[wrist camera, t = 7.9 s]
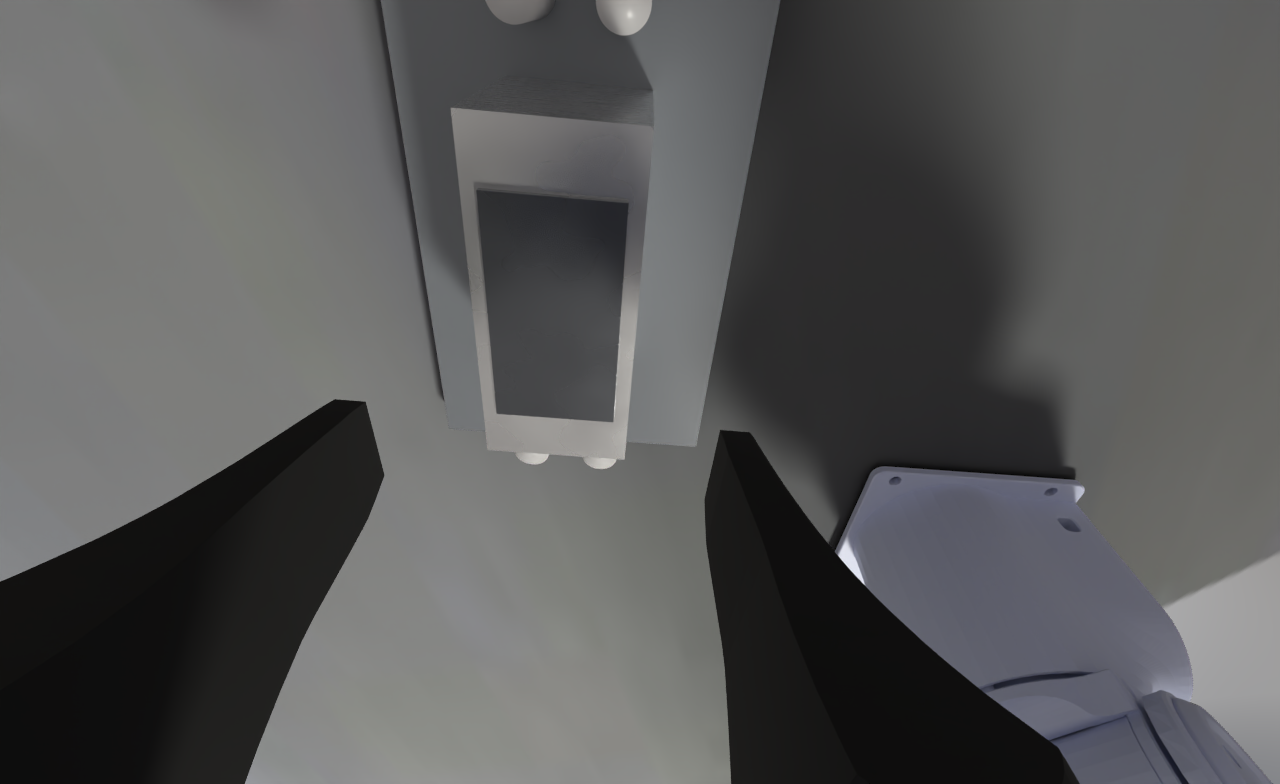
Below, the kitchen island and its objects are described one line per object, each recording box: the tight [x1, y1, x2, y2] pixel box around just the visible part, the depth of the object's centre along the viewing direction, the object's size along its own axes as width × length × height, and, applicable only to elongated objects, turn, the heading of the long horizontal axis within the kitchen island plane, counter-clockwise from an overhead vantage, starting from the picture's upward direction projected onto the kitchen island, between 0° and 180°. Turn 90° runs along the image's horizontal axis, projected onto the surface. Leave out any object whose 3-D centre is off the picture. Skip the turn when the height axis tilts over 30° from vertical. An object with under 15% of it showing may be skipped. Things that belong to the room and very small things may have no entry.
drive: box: [451, 76, 654, 460], centre depth 15 cm, size 4×9×5 cm, turn 175°
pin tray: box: [381, 0, 780, 469], centre depth 17 cm, size 10×16×4 cm, turn 175°
